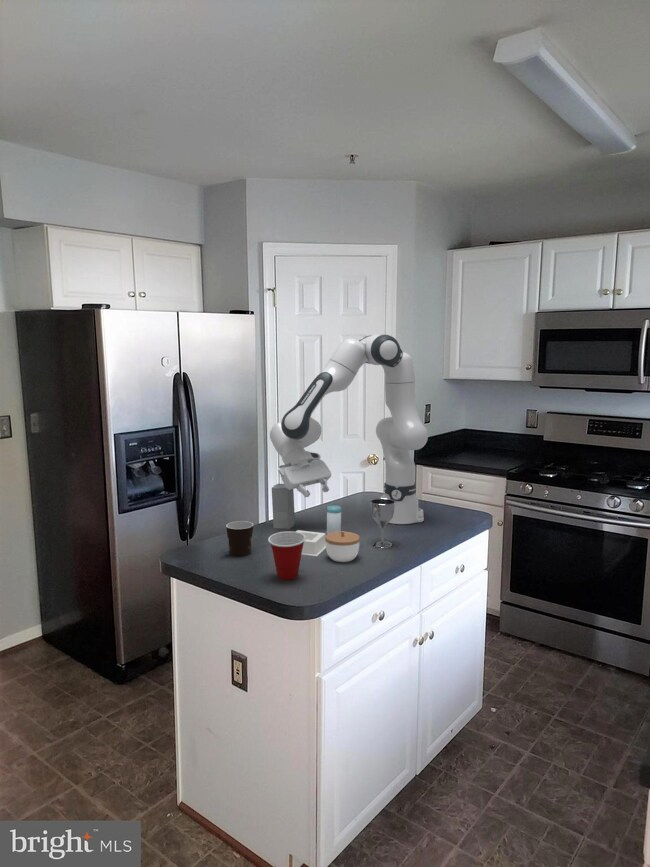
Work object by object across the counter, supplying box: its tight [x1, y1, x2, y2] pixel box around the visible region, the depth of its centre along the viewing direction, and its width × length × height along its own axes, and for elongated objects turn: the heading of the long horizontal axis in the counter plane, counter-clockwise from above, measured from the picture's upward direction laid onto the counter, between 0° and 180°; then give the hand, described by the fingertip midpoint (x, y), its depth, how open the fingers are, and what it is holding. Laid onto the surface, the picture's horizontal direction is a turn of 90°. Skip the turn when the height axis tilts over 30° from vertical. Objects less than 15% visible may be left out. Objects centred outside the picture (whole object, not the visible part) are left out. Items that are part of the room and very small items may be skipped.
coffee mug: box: [225, 520, 254, 558], centre depth 194 cm, size 12×9×10 cm
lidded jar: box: [325, 530, 361, 563], centre depth 188 cm, size 11×11×9 cm
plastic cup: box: [267, 530, 306, 581], centre depth 175 cm, size 11×11×12 cm
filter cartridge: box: [326, 504, 342, 535], centre depth 207 cm, size 5×5×12 cm
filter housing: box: [295, 529, 327, 557], centre depth 198 cm, size 12×12×5 cm
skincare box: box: [271, 483, 296, 530], centre depth 222 cm, size 8×7×16 cm
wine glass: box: [370, 497, 395, 549], centre depth 203 cm, size 8×8×15 cm
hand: (317, 493), depth 211 cm, fingers open, 8 cm apart
